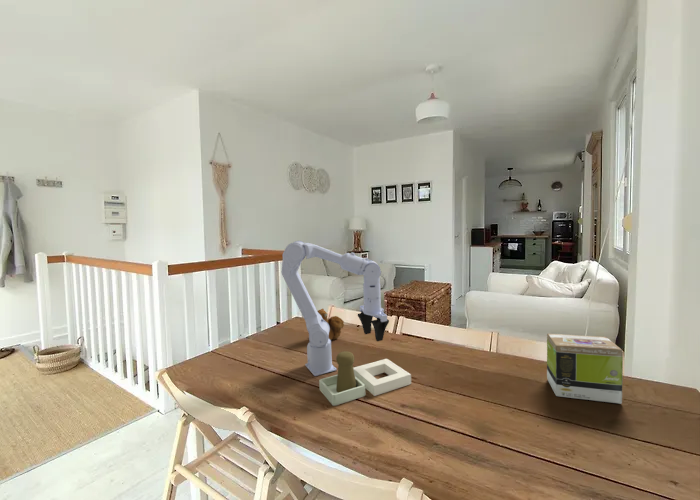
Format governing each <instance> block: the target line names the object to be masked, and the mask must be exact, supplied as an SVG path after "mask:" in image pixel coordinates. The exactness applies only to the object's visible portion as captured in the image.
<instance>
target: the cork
mask: <svg viewBox="0 0 700 500" xmlns="http://www.w3.org/2000/svg"><path fill="white" fill-rule="evenodd" d="M335 359H336V362H337V363H336V364H337V365H338V368H337V374H338V376H337V387H336V391H337V392H338V393H339V392H342V391H345V390H349V389H352V388H355V387H357V386H356V381H355V375H354V369H353V368H354V363H355V355H354V354H353V352H351V351H347V350H346V351H345V350H343V351H341V352H338V353H337V356H336V358H335Z"/></svg>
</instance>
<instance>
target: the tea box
mask: <svg viewBox="0 0 700 500" xmlns="http://www.w3.org/2000/svg"><path fill="white" fill-rule="evenodd" d="M623 353H624V352H623V349H622V348H621V347H619V346H618V345H617V344H616V343H614V342H613V341H612V340H611V339H609V338H608V337H607V336H596V335H582V334H581V335H577V334H561V333H547V334H546V378H547V382H548V383H549V385H550V387H551V389H552V391H553V392H554V394H555V396H556V397H561V398H571V399H576V400H577V399H579V400H586V401H588V400H589V401H595V402H603V403H604V402H605V403H612V404H619V405H621V404H622V403H623V378H624V377H623V374H624V373H623V369H624V368H623V365H624V362H623V361H624V357H623V355H624V354H623Z"/></svg>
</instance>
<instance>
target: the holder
mask: <svg viewBox="0 0 700 500" xmlns="http://www.w3.org/2000/svg"><path fill="white" fill-rule="evenodd" d="M353 369H354V375H355V377H357V378H358V379H359V380H360V381H361V382H362V383H363V384H365V390H367V391H368V392H369V393H370V394H371V395H373V396H374V397H376V396H379V395H381V394H382V395H383V394H385V393H388V392H391V391H393V390H397V389H400V388H402V387H403V388H404V387H406V386H409V385H411V384H412V373H409V371H407V370H405V369H403V368H402V367H401V366H399V365H397V364H396V363H394V362H393V361H391V360H390V359H388V358H384V359H380V360H377V361H374V362H370V363H364V364H362V365H358V366H353ZM383 373H385V374H386V375H387V376H384V377H380V378H377V377H375V376H378V375H382V374H383Z"/></svg>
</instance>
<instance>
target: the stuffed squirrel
mask: <svg viewBox="0 0 700 500" xmlns="http://www.w3.org/2000/svg"><path fill="white" fill-rule="evenodd" d="M317 311H318V313H319V314H320V315H321V316H322V318H323V320H324V321H326V322H327V323H328V324H329V326H330V331H329V339H330V340H331V341H333V340H336V339H339V337H340V336H341V334H342V331H341V330H342V329H343V328H344V327H345V324H344V323H345V321H344V320H343V319H342V318H341V317H339V316H337V315H333V316H330V317H329V318H328V316H329V315H328V314H329V313H328V312H326V311H325V310H324V308H321V309H318V310H317Z"/></svg>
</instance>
